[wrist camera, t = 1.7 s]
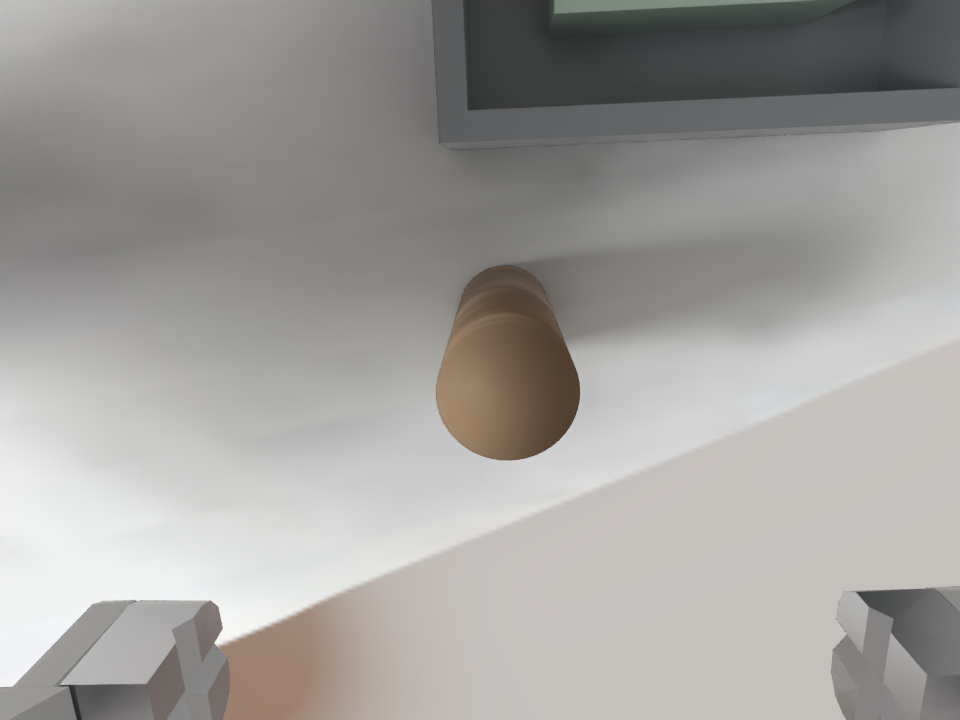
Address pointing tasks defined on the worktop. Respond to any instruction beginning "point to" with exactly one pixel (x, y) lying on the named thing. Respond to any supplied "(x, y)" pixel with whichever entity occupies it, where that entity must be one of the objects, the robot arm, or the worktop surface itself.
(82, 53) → the worktop surface
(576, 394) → the peg
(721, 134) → the bore box
